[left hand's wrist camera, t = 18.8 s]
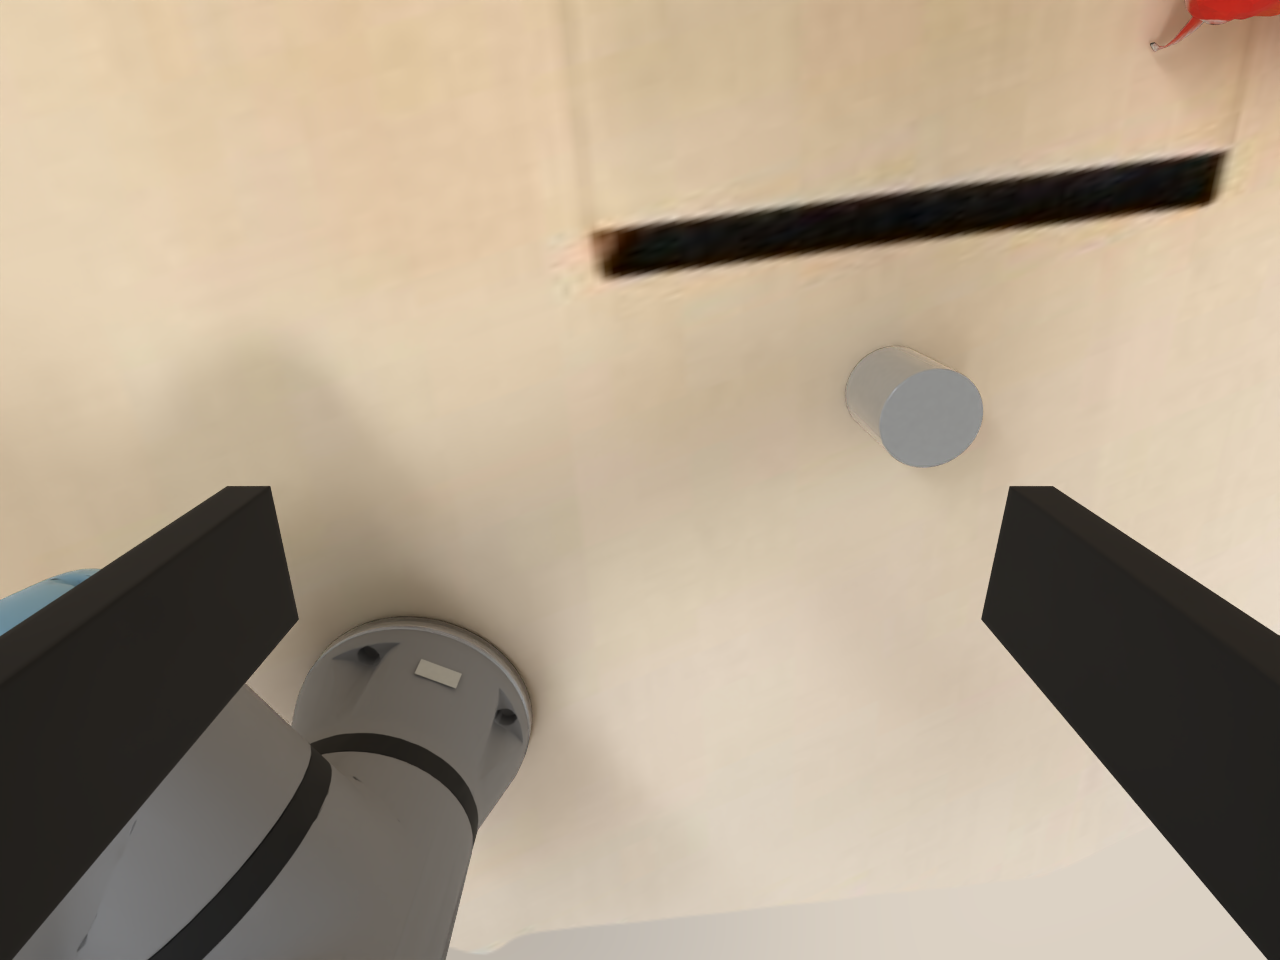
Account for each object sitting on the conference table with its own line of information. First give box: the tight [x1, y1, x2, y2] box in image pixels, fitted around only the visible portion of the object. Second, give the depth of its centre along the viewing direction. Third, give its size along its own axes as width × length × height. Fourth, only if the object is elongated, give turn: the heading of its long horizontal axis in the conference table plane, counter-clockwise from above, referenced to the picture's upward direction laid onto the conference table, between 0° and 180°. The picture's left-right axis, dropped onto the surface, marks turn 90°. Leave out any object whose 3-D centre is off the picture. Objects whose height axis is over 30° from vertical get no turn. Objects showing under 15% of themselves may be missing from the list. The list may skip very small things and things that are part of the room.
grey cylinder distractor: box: [845, 346, 983, 468], centre depth 36 cm, size 5×5×6 cm
